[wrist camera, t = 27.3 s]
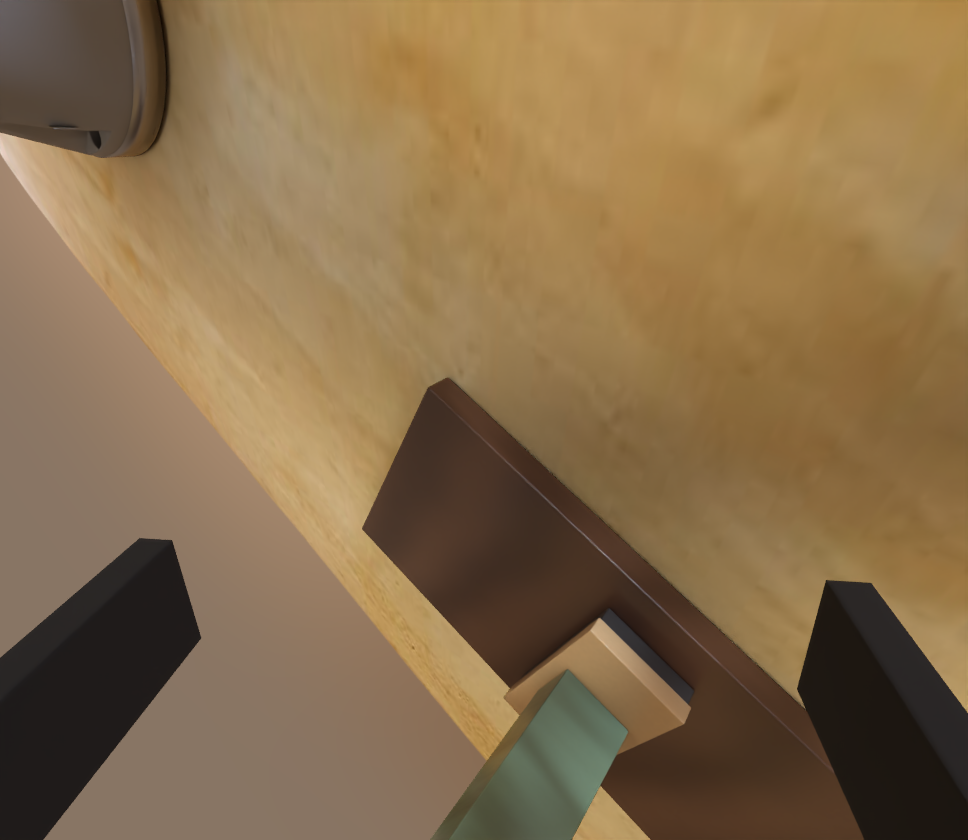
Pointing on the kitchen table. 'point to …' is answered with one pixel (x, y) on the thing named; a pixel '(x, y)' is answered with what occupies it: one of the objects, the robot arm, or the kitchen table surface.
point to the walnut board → (576, 602)
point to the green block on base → (569, 734)
